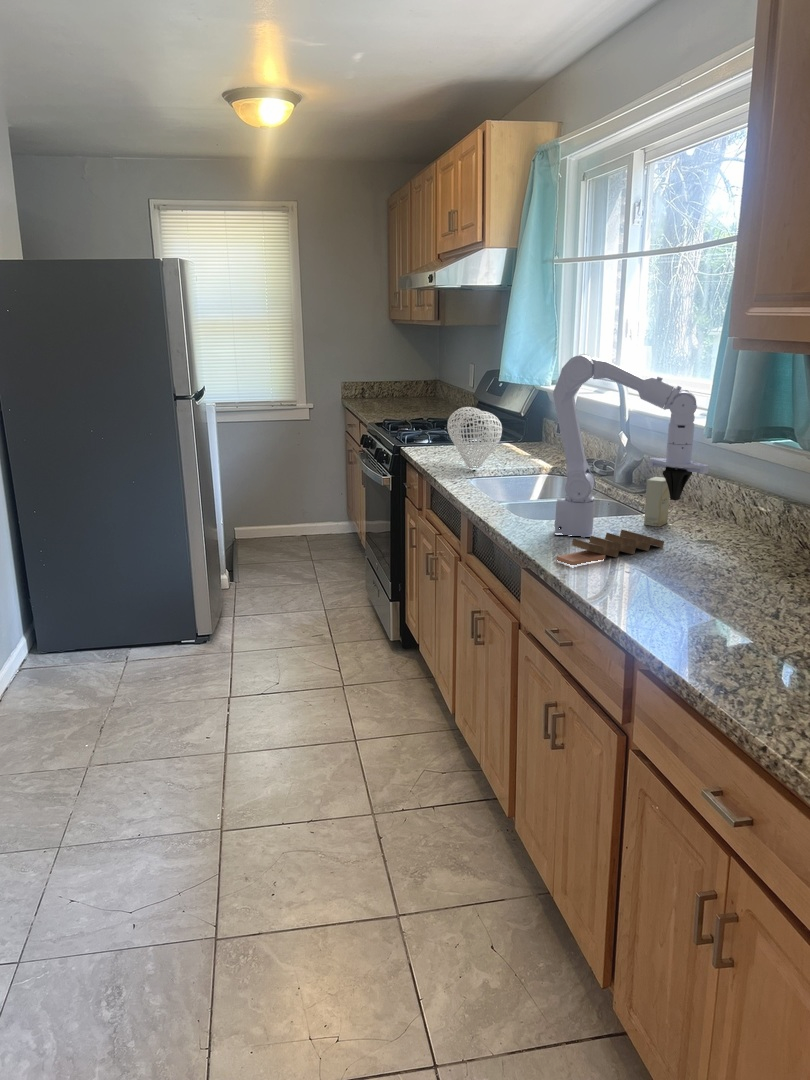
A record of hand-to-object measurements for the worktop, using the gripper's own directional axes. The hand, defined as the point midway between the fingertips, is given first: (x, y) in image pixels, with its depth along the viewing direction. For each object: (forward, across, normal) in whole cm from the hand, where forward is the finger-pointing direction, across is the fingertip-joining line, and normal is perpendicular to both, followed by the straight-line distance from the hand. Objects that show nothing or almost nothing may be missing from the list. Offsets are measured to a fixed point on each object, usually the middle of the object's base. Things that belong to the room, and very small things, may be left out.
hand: (675, 499), depth 191 cm
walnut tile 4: (+10, -3, -21) cm, 24 cm away
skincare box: (+11, -12, +12) cm, 20 cm away
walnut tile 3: (+10, -2, -16) cm, 19 cm away
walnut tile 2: (+10, -1, -11) cm, 15 cm away
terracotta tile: (+10, -3, -26) cm, 28 cm away
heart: (+11, -100, +32) cm, 105 cm away
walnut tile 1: (+10, -1, -6) cm, 11 cm away
